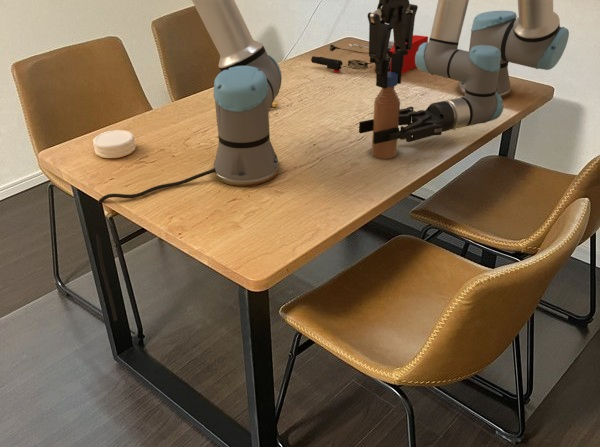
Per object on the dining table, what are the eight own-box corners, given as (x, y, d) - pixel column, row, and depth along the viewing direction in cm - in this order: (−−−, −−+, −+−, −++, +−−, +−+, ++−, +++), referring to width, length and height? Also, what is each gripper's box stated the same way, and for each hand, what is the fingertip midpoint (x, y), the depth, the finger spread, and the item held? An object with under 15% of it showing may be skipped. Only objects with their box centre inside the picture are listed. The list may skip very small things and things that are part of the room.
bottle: (367, 150, 155) (371, 75, 144) (389, 146, 156) (394, 72, 146) (378, 160, 150) (382, 83, 139) (400, 156, 151) (406, 80, 141)
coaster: (106, 163, 150) (103, 149, 148) (88, 149, 156) (85, 137, 155) (143, 150, 156) (141, 137, 154) (124, 138, 162) (122, 126, 160)
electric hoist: (310, 36, 203) (391, 51, 188) (352, 23, 222) (429, 35, 207) (309, 67, 208) (388, 83, 193) (351, 51, 227) (425, 65, 212)
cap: (378, 81, 145) (379, 71, 144) (396, 80, 145) (396, 71, 144) (380, 87, 142) (381, 77, 141) (398, 87, 142) (399, 77, 140)
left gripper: (379, -14, 124) (373, 97, 137) (435, -26, 133) (425, 80, 145) (353, -20, 129) (350, 88, 141) (409, -31, 138) (401, 72, 150)
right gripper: (468, 143, 150) (387, 163, 142) (423, 116, 165) (347, 132, 157) (472, 114, 146) (389, 133, 138) (426, 89, 161) (348, 104, 153)
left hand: (388, 84), depth 143 cm, fingers closed on cap, 4 cm apart
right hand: (367, 132), depth 148 cm, fingers closed on bottle, 6 cm apart
